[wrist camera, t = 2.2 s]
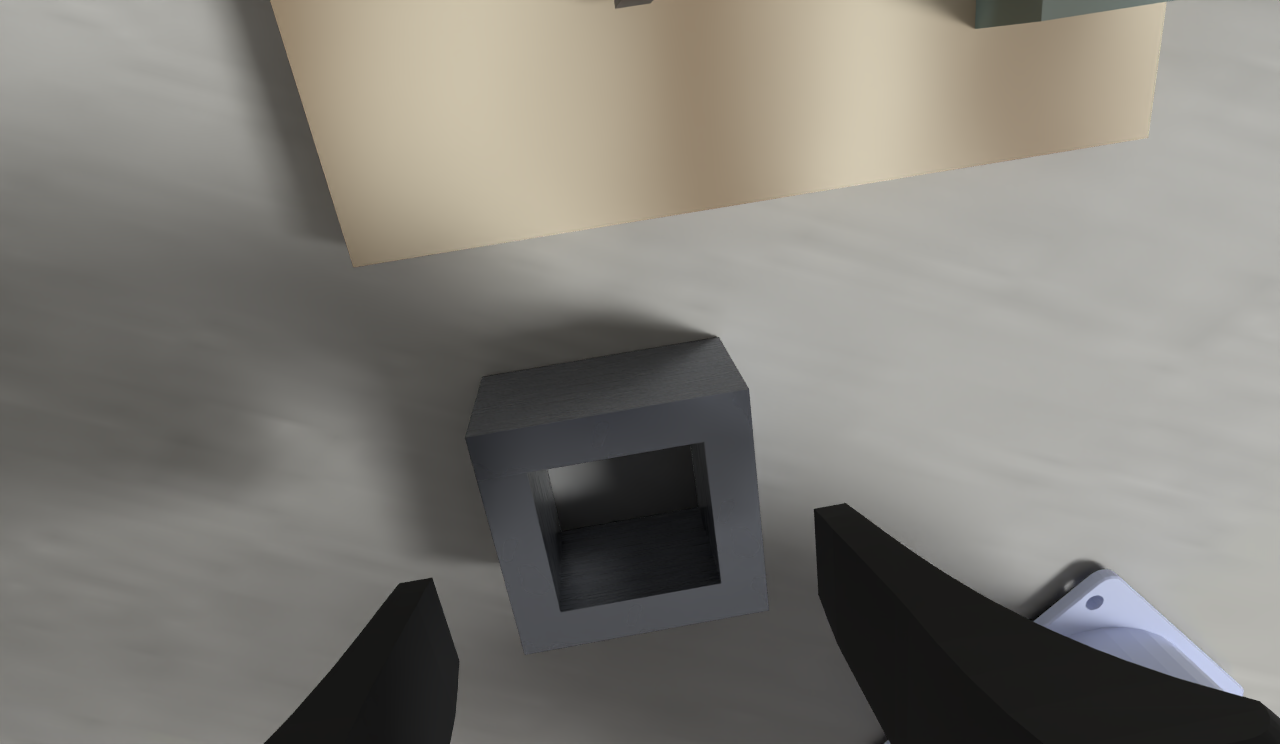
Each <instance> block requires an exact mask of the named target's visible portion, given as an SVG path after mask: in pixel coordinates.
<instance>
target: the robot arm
mask: <svg viewBox="0 0 1280 744" xmlns="http://www.w3.org/2000/svg"><path fill="white" fill-rule="evenodd" d="M814 519H815V538H816V557H817V576H818V595H819V597H820V600H821V603H822V605H823V608H824V611H825V613H826V616H827V619H828V621H829V624H830V626H831V629H832V631H833V634H834V636H835V639H836V642H837V644H838V646H839V648H840V650H841V652H842V654H843V655H844V657H845V659H846V661H847V663H848V665H849V667H850V669H851V671H852V673H853V674H854V676H855V678H856V680H857V682H858V684H859V686H860V688H861V689H862V691H863V693H864V695H865V697H866V699H867V701H868V702H869V704H870V706H871V708H872V710H873V712H874V714H875V716H876V717H877V719H878V721H879V723H880V725H881V727H882V729H883V730H884V732H885V734H886V736H887V738H888V741H886V742H885V743H884V744H1280V718H1279V717H1278V716H1277V715H1275V714H1274V713H1273V712H1272V711H1271V710H1270V709H1268V708H1267V707H1266V706H1265V705H1263V704H1262V703H1261V702H1260V701H1257V700H1253V699H1250V698H1246V697H1243V691H1244V690H1243V688H1242V686H1241V685H1240V684H1239V683H1237V682H1236V681H1235V680H1234V679H1233V678H1232V677H1231V676H1230V675H1229V674H1227V673H1226V672H1225V671H1224V670H1223V669H1222V668H1221V667H1220V666H1219V665H1217V664H1216V663H1215V662H1214V661H1213V660H1212V659H1211V658H1210V657H1208V656H1207V655H1206V654H1205V653H1204V652H1203V651H1202V650H1201V649H1200V648H1198V647H1197V646H1196V645H1195V644H1194V643H1193V642H1192V641H1191V640H1190V639H1188V638H1187V637H1186V636H1185V635H1184V634H1183V633H1182V632H1181V631H1180V630H1178V629H1177V628H1176V627H1175V626H1174V625H1173V624H1172V623H1171V622H1170V621H1168V620H1167V619H1166V618H1165V617H1164V616H1163V615H1162V614H1161V613H1160V612H1158V611H1157V610H1156V609H1155V608H1154V607H1153V606H1152V605H1151V604H1149V603H1148V602H1147V601H1146V600H1145V599H1144V598H1143V597H1142V596H1141V595H1139V594H1138V593H1137V592H1136V591H1135V590H1134V589H1133V588H1132V587H1131V586H1129V585H1128V584H1127V583H1126V582H1125V581H1124V580H1123V579H1122V578H1121V577H1119V576H1118V575H1117V574H1116V573H1115V572H1114V571H1112V570H1110V569H1102V570H1098V571H1095V572H1094V573H1092V574H1091V575H1089V576H1088V577H1087V578H1086V579H1084V580H1083V581H1082V582H1081V583H1080V584H1078V585H1077V586H1076V587H1075V588H1073V589H1072V590H1071V591H1070V592H1069V593H1067V594H1066V595H1065V596H1064V597H1062V598H1061V599H1060V600H1059V601H1058V602H1056V603H1055V604H1054V605H1053V606H1051V607H1050V608H1049V609H1048V610H1047V611H1045V612H1044V613H1043V614H1042V615H1040V616H1039V617H1038V618H1037V619H1036V620H1034V621H1031V620H1029V619H1027V618H1025V617H1023V616H1021V615H1019V614H1017V613H1015V612H1013V611H1011V610H1009V609H1007V608H1005V607H1003V606H1001V605H999V604H997V603H995V602H994V601H992V600H990V599H988V598H986V597H984V596H983V595H981V594H979V593H977V592H976V591H974V590H972V589H971V588H969V587H967V586H966V585H964V584H962V583H961V582H959V581H957V580H956V579H954V578H952V577H951V576H949V575H947V574H946V573H944V572H943V571H941V570H939V569H938V568H936V567H935V566H933V565H932V564H930V563H929V562H927V561H926V560H924V559H923V558H921V557H920V556H918V555H917V554H915V553H914V552H912V551H911V550H909V549H908V548H907V547H905V546H904V545H902V544H901V543H900V542H898V541H897V540H895V539H894V538H893V537H891V536H890V535H889V534H887V533H886V532H884V531H883V530H882V529H880V528H879V527H878V526H876V525H875V524H873V523H872V522H871V521H869V520H868V519H867V518H865V517H864V516H863V515H861V514H860V513H859V512H857V511H856V510H854V509H853V508H852V507H850V506H849V505H848V504H846V503H844V504H839V505H833V506H827V507H822V508H816V509H814ZM458 673H459V658H458V655H457V652H456V649H455V646H454V643H453V640H452V637H451V634H450V631H449V628H448V625H447V622H446V619H445V616H444V613H443V610H442V606H441V603H440V600H439V597H438V594H437V591H436V588H435V585H434V582H433V579H432V578H427V579H422V580H416V581H411V582H405V583H400V584H399V585H398V586H397V587H396V588H395V589H394V591H393V592H392V593H391V594H390V596H389V597H388V598H387V600H386V601H385V602H384V603H383V605H382V606H381V607H380V609H379V610H378V611H377V612H376V614H375V615H374V616H373V618H372V619H371V620H370V621H369V623H368V624H367V625H366V627H365V628H364V629H363V630H362V632H361V633H360V634H359V636H358V637H357V638H356V639H355V641H354V642H353V643H352V644H351V646H350V647H349V648H348V649H347V651H346V652H345V653H344V654H343V656H342V657H341V658H340V659H339V661H338V662H337V663H336V664H335V666H334V667H333V668H332V669H331V670H330V672H329V673H328V674H327V675H326V676H325V677H324V678H323V680H322V681H321V682H320V683H319V684H318V685H317V686H316V688H315V689H314V690H313V691H312V692H311V693H310V694H309V696H308V697H307V698H306V699H305V700H304V701H303V702H302V704H301V705H300V706H299V707H298V708H297V709H296V710H295V712H294V713H293V714H292V715H291V716H290V717H289V718H288V719H287V720H286V721H285V722H284V723H283V724H282V726H281V727H280V728H279V729H278V730H277V731H276V732H275V733H274V734H273V735H272V736H271V737H270V738H269V739H268V740H267V741H266V742H265V743H264V744H450V740H451V735H452V730H453V725H454V719H455V713H456V701H457V689H458Z"/></svg>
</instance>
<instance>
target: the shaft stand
mask: <svg viewBox="0 0 1280 744" xmlns="http://www.w3.org/2000/svg"><path fill="white" fill-rule="evenodd" d="M1167 1H1174V0H270V2H271V5H272V8H273V11H274V15H275V18H276V21H277V24H278V28H279V31H280V34H281V37H282V40H283V44H284V47H285V50H286V53H287V56H288V60H289V63H290V66H291V69H292V72H293V76H294V79H295V82H296V85H297V88H298V92H299V95H300V98H301V101H302V104H303V108H304V111H305V114H306V117H307V120H308V124H309V127H310V130H311V133H312V136H313V140H314V143H315V146H316V149H317V152H318V156H319V159H320V162H321V165H322V168H323V172H324V175H325V178H326V181H327V185H328V188H329V191H330V194H331V197H332V201H333V204H334V207H335V210H336V213H337V217H338V220H339V223H340V226H341V229H342V233H343V236H344V239H345V242H346V245H347V249H348V252H349V255H350V258H351V261H352V265H353V267H360V266H366V265H372V264H378V263H384V262H390V261H396V260H403V259H409V258H415V257H421V256H427V255H433V254H439V253H445V252H452V251H458V250H464V249H470V248H476V247H482V246H488V245H494V244H501V243H507V242H513V241H519V240H525V239H531V238H537V237H543V236H550V235H556V234H562V233H568V232H574V231H580V230H586V229H592V228H599V227H605V226H611V225H617V224H623V223H629V222H635V221H641V220H648V219H654V218H660V217H666V216H672V215H678V214H684V213H691V212H697V211H703V210H709V209H715V208H721V207H727V206H733V205H740V204H746V203H752V202H758V201H764V200H770V199H776V198H782V197H789V196H795V195H801V194H807V193H813V192H819V191H825V190H831V189H838V188H844V187H850V186H856V185H862V184H868V183H874V182H880V181H887V180H893V179H899V178H905V177H911V176H917V175H923V174H929V173H936V172H942V171H948V170H954V169H960V168H966V167H972V166H979V165H985V164H991V163H997V162H1003V161H1009V160H1015V159H1021V158H1028V157H1034V156H1040V155H1046V154H1052V153H1058V152H1064V151H1070V150H1077V149H1083V148H1089V147H1095V146H1101V145H1107V144H1113V143H1119V142H1126V141H1132V140H1138V139H1144V138H1148V136H1149V128H1150V121H1151V113H1152V106H1153V99H1154V91H1155V84H1156V77H1157V69H1158V62H1159V54H1160V47H1161V40H1162V32H1163V25H1164V18H1165V10H1166V3H1167Z"/></svg>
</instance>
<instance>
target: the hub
mask: <svg viewBox="0 0 1280 744" xmlns="http://www.w3.org/2000/svg"><path fill="white" fill-rule="evenodd" d="M465 439H466V443H467V446H468V450H469V453H470V457H471V461H472V464H473V468H474V472H475V475H476V479H477V483H478V486H479V490H480V494H481V497H482V501H483V504H484V508H485V512H486V515H487V519H488V523H489V526H490V530H491V534H492V537H493V541H494V544H495V548H496V552H497V555H498V559H499V563H500V566H501V570H502V574H503V577H504V581H505V584H506V588H507V592H508V595H509V599H510V603H511V606H512V610H513V614H514V617H515V621H516V625H517V628H518V632H519V635H520V639H521V643H522V646H523V650H524V654H525V655H526V654H532V653H537V652H543V651H548V650H554V649H559V648H565V647H570V646H576V645H581V644H587V643H592V642H598V641H603V640H609V639H614V638H620V637H625V636H631V635H636V634H642V633H647V632H653V631H658V630H664V629H669V628H675V627H680V626H686V625H691V624H697V623H702V622H708V621H713V620H719V619H724V618H730V617H735V616H741V615H746V614H752V613H757V612H763V611H768V610H769V606H768V595H767V584H766V573H765V561H764V550H763V539H762V528H761V517H760V506H759V495H758V484H757V473H756V462H755V451H754V440H753V429H752V418H751V407H750V396H749V388H748V387H747V385H746V383H745V381H744V380H743V378H742V376H741V374H740V373H739V371H738V369H737V368H736V366H735V364H734V362H733V361H732V359H731V357H730V355H729V354H728V352H727V350H726V349H725V347H724V345H723V343H722V342H721V340H720V338H719V337H716V338H710V339H704V340H699V341H693V342H687V343H681V344H675V345H669V346H663V347H657V348H651V349H645V350H639V351H633V352H628V353H622V354H616V355H610V356H604V357H598V358H592V359H586V360H580V361H574V362H568V363H562V364H557V365H551V366H545V367H539V368H533V369H527V370H521V371H515V372H509V373H503V374H497V375H491V376H486V377H482V380H481V383H480V387H479V390H478V394H477V398H476V401H475V405H474V408H473V412H472V415H471V419H470V422H469V426H468V429H467V433H466V436H465ZM684 445H690V447H691V455H692V463H693V470H694V478H695V485H696V493H697V501H698V508H692V509H687V510H681V511H675V512H670V513H664V514H658V515H653V516H647V517H641V518H636V519H630V520H624V521H619V522H613V523H607V524H602V525H596V526H590V527H585V528H579V529H573V530H568V531H561V527H560V522H559V518H558V514H557V509H556V505H555V500H554V496H553V492H552V487H551V483H550V478H549V474H548V470H547V469H551V468H557V467H563V466H569V465H574V464H580V463H586V462H592V461H597V460H603V459H609V458H615V457H620V456H626V455H632V454H638V453H643V452H649V451H655V450H661V449H666V448H672V447H678V446H684Z"/></svg>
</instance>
